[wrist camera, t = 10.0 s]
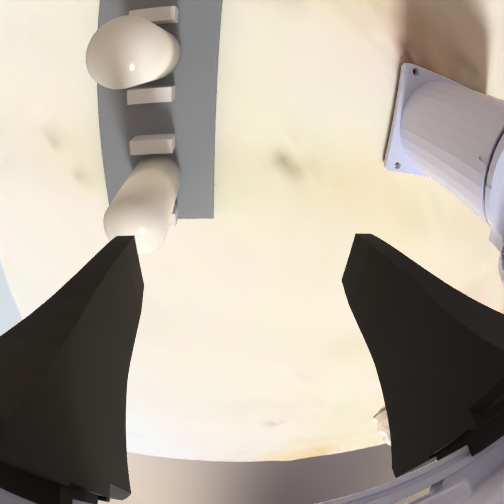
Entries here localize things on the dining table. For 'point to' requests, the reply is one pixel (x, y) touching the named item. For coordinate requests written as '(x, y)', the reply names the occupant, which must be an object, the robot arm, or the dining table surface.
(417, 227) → the dining table surface
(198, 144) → the fuse panel
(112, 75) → the fuse middle
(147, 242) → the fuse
